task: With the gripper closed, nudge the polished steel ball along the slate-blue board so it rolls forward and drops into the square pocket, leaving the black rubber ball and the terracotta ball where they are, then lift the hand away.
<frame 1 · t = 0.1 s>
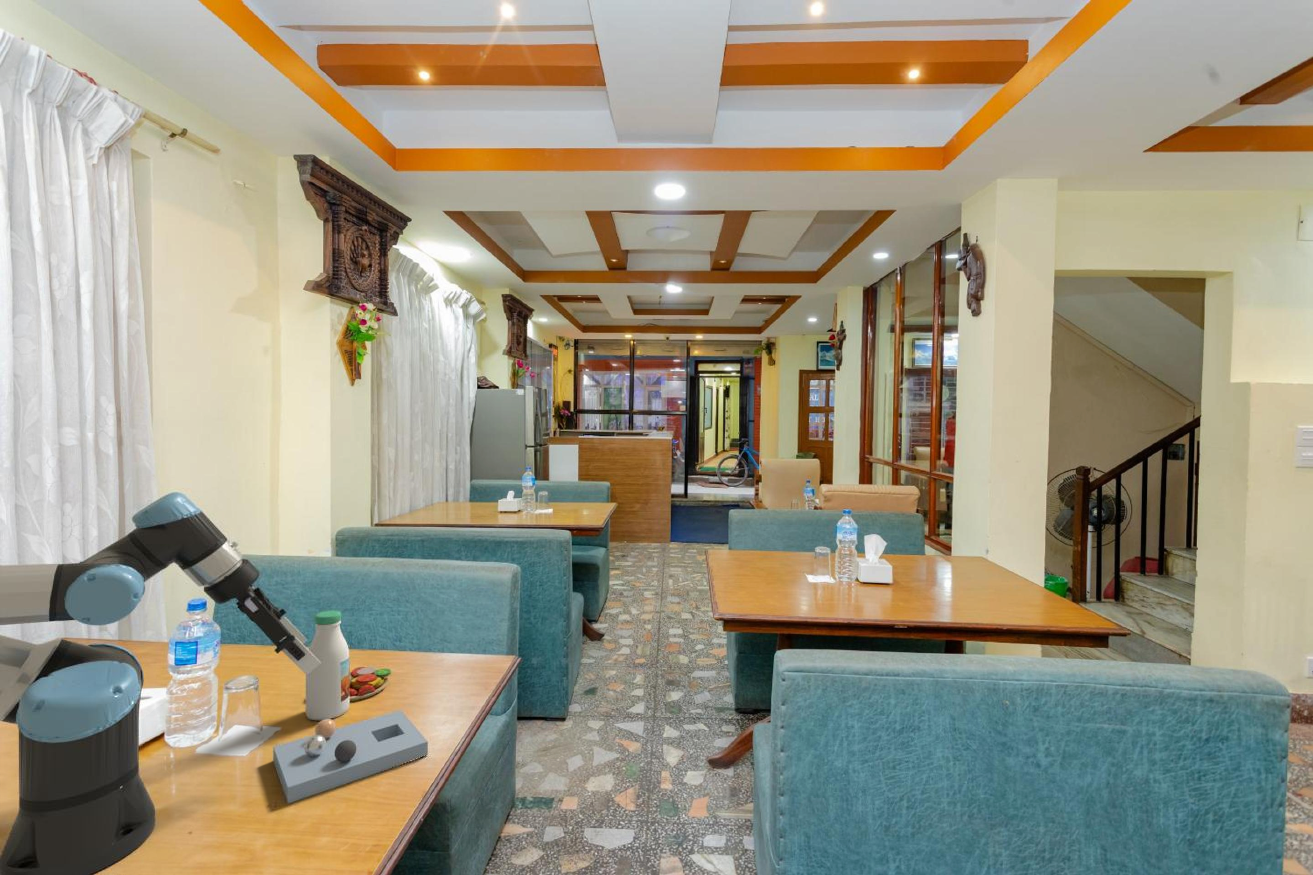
hand: (306, 656, 109), 15 cm above the table, tool tilted 35°, fingers open, 13 cm apart
board: (351, 758, 103), on the table
terracotta ball: (325, 728, 104), point 4 cm above the table, touching board
steel ball: (315, 745, 99), point 4 cm above the table, touching board
black ball: (345, 750, 97), point 4 cm above the table, touching board
toy food set: (355, 691, 130), on the table
milk bottle: (327, 713, 119), on the table
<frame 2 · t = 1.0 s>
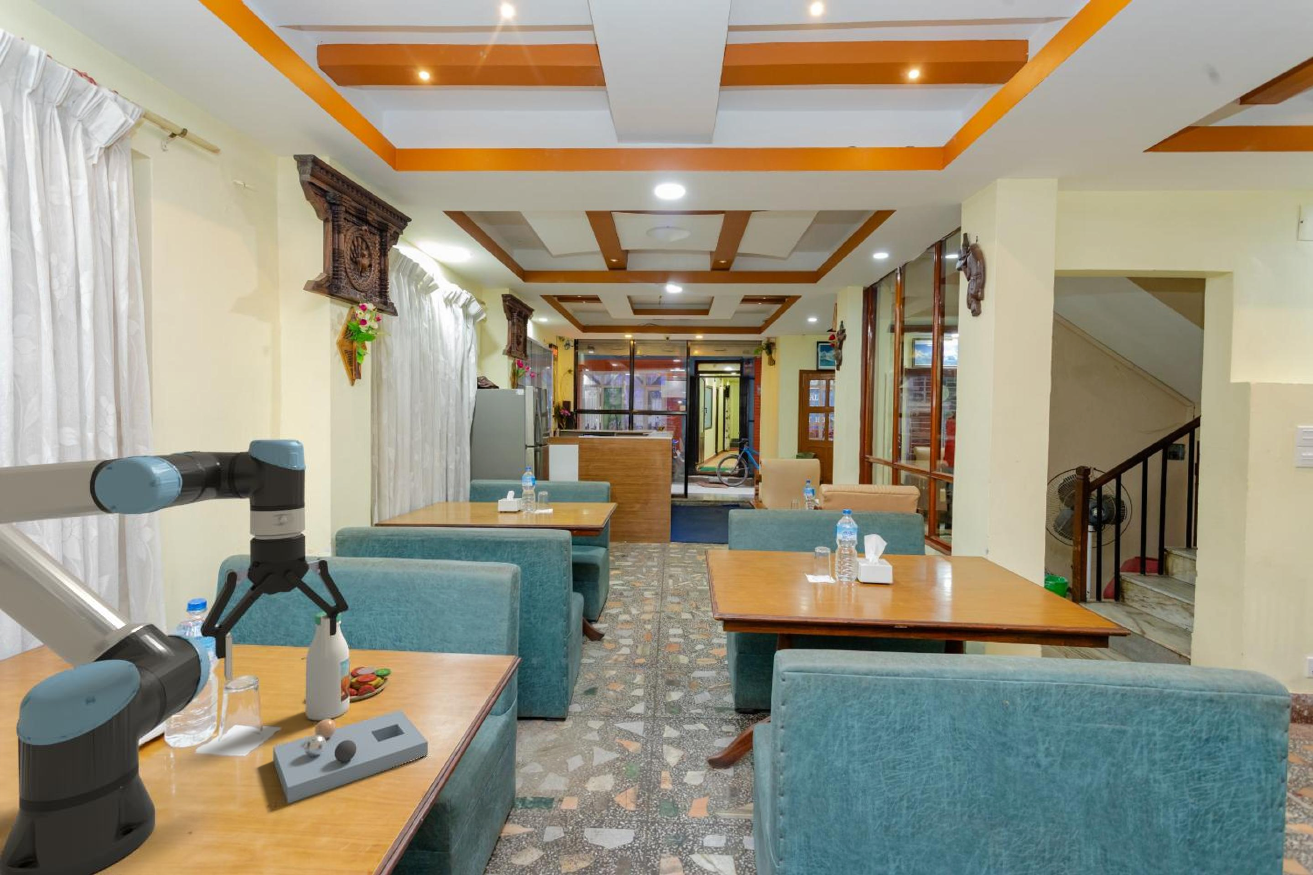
hand: (279, 665, 96), 19 cm above the table, tool pointing down, fingers open, 13 cm apart
nothing on the table moved.
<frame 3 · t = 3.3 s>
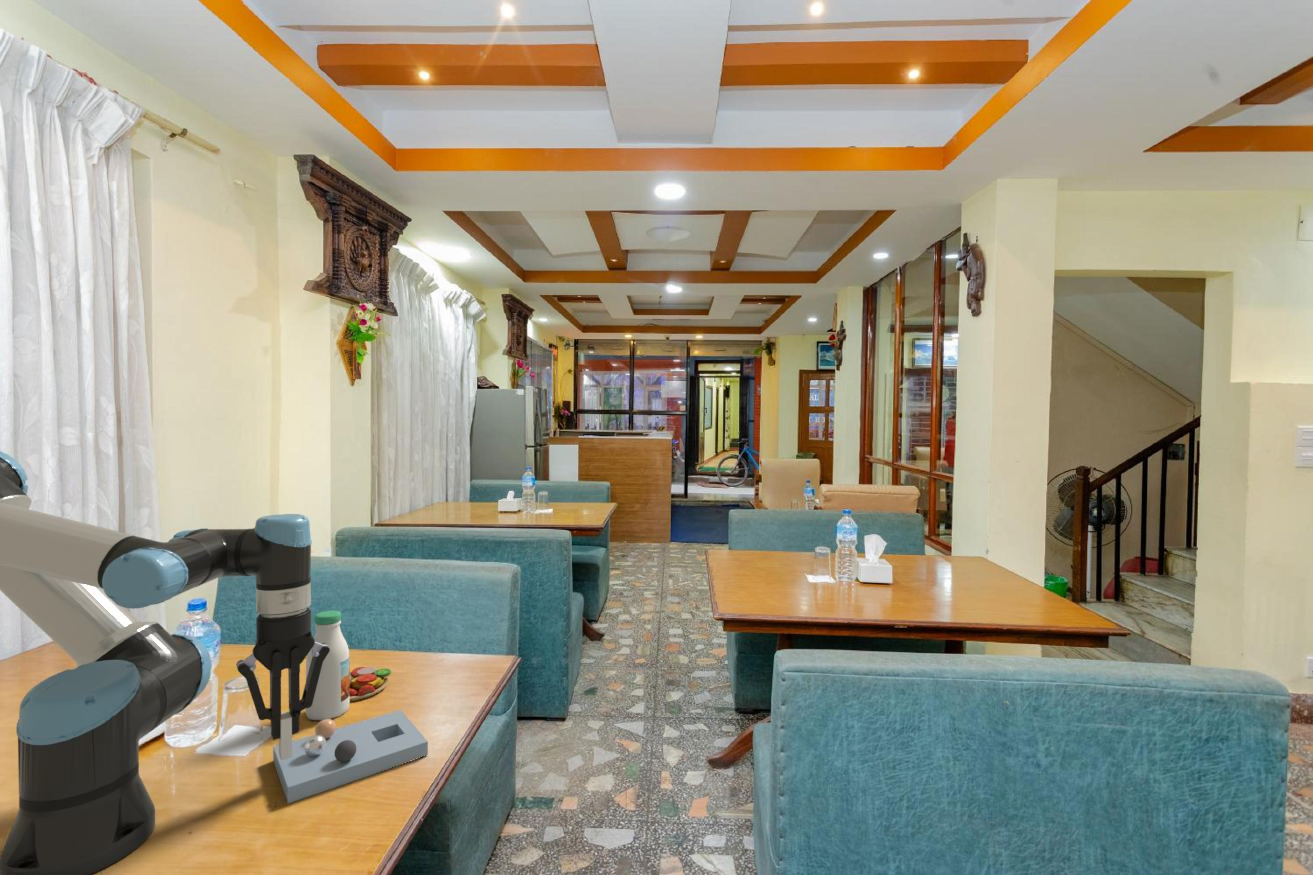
hand: (285, 755, 96), 4 cm above the table, tool pointing down, fingers closed
nothing on the table moved.
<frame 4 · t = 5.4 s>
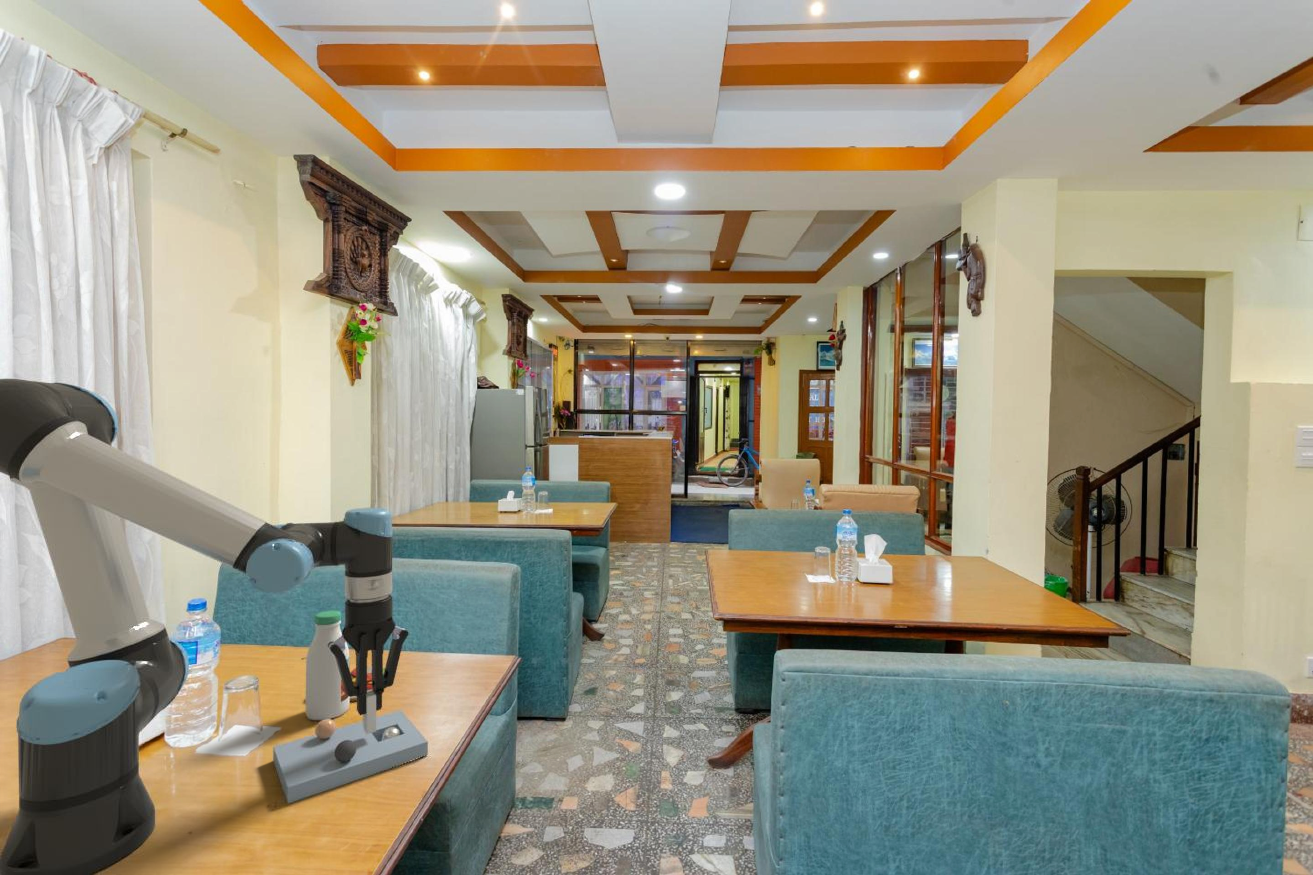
hand: (369, 729, 104), 4 cm above the table, tool pointing down, fingers closed
steel ball: (391, 737, 107), point 2 cm above the table, tilted 107°
everything else where it was.
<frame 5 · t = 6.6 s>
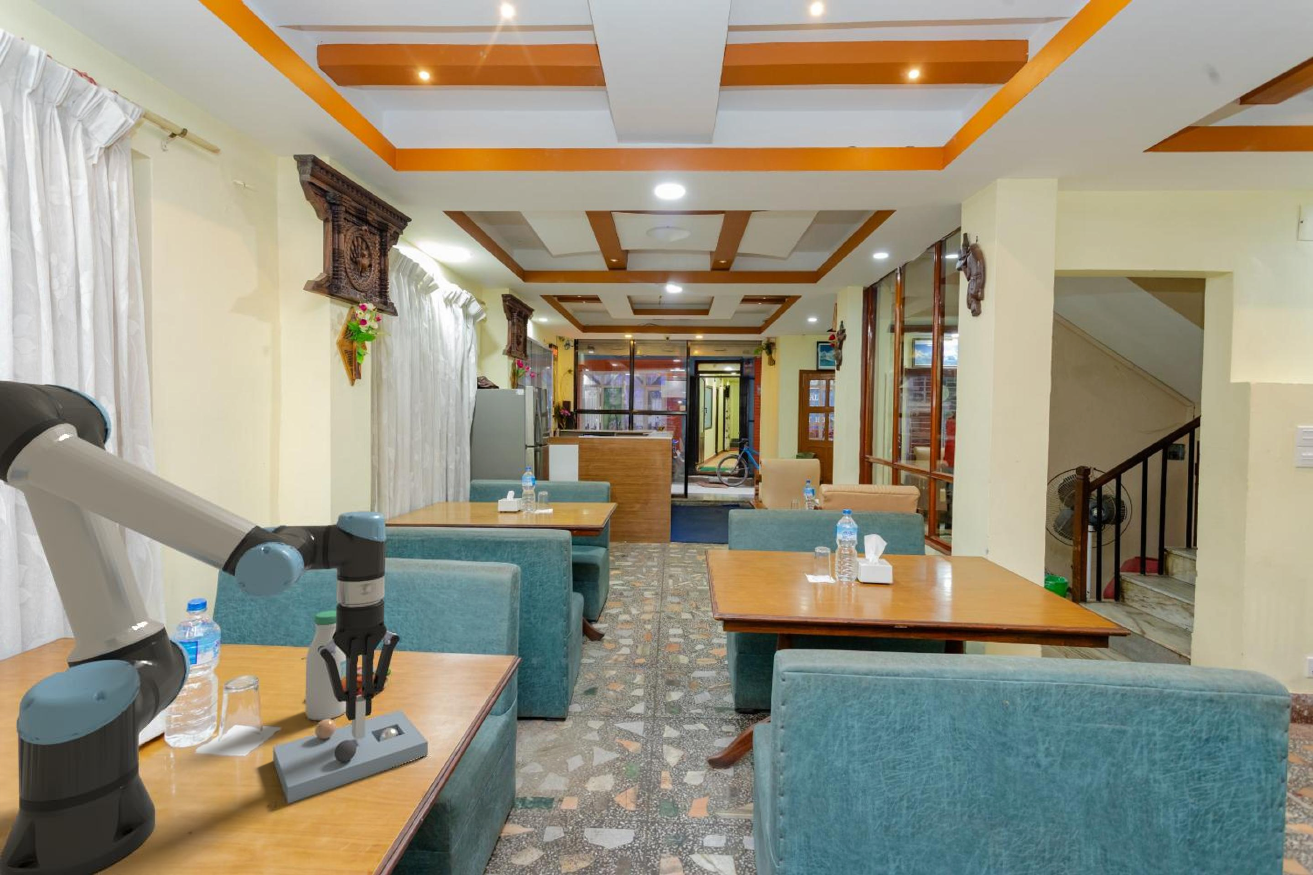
hand: (358, 735, 103), 4 cm above the table, tool pointing down, fingers closed
steel ball: (389, 737, 106), point 2 cm above the table, tilted 96°
everything else where it was.
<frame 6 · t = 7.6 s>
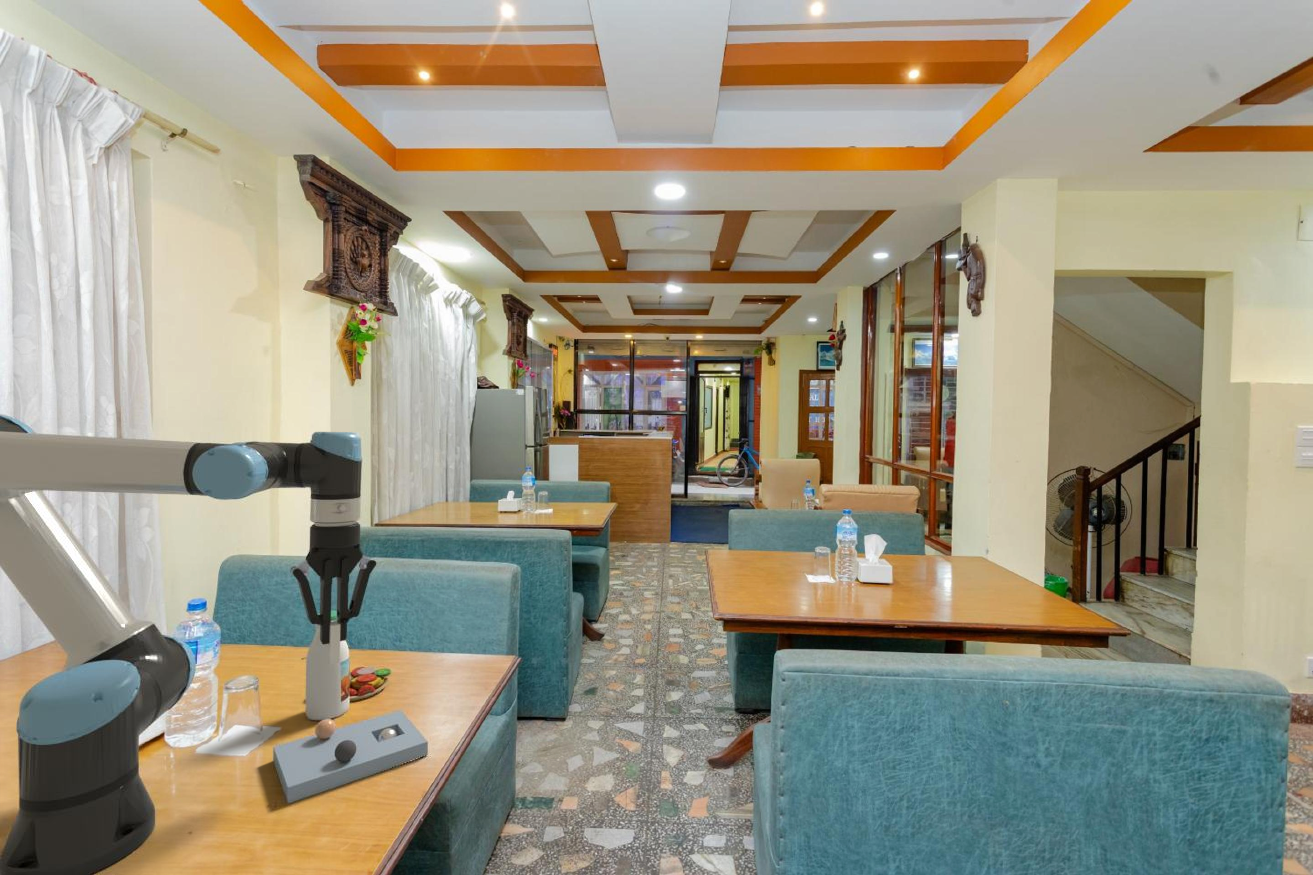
hand: (332, 660, 101), 18 cm above the table, tool pointing down, fingers closed
steel ball: (387, 738, 106), point 2 cm above the table, tilted 86°
everything else where it was.
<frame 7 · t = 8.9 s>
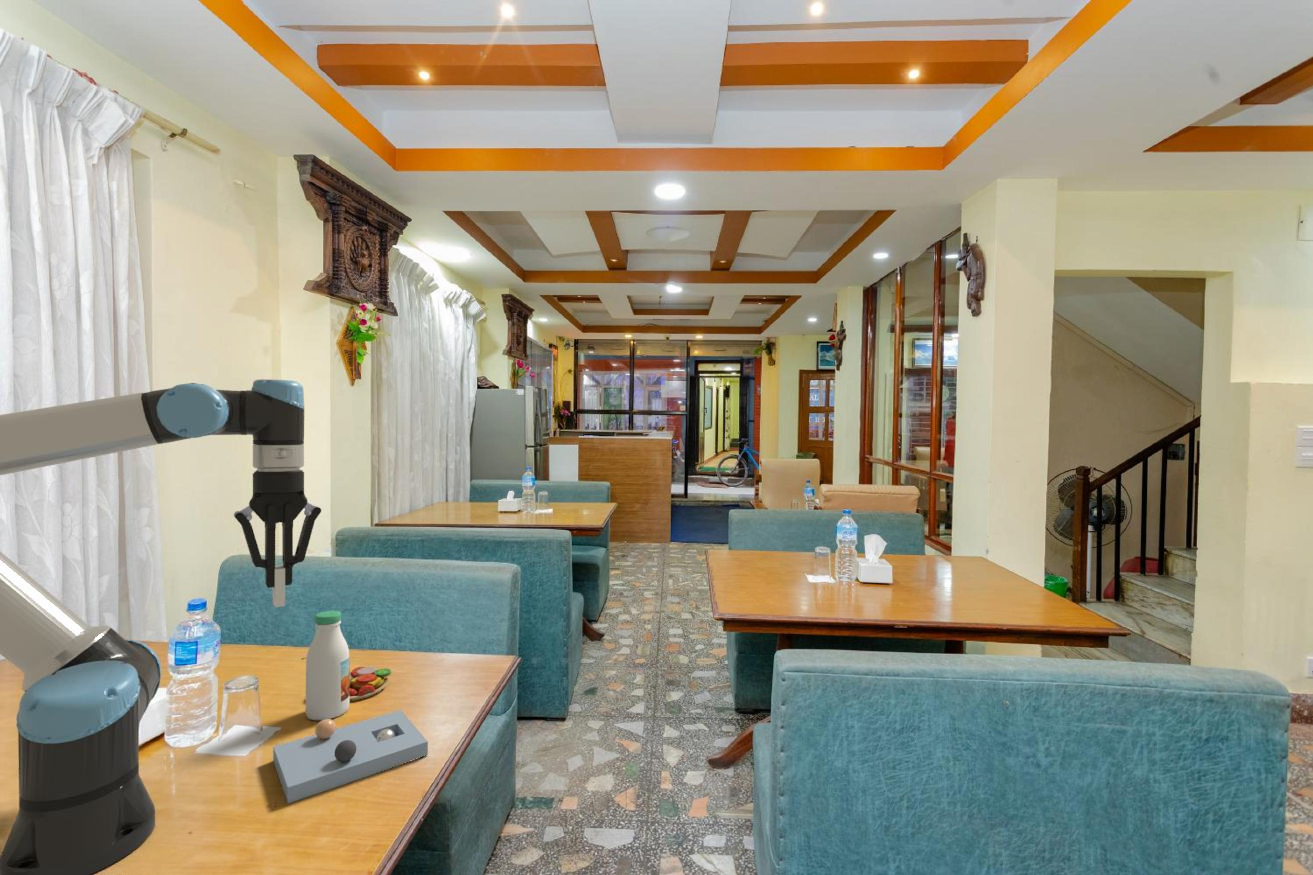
hand: (278, 604, 103), 26 cm above the table, tool pointing down, fingers closed
steel ball: (385, 738, 106), point 2 cm above the table, tilted 74°
everything else where it was.
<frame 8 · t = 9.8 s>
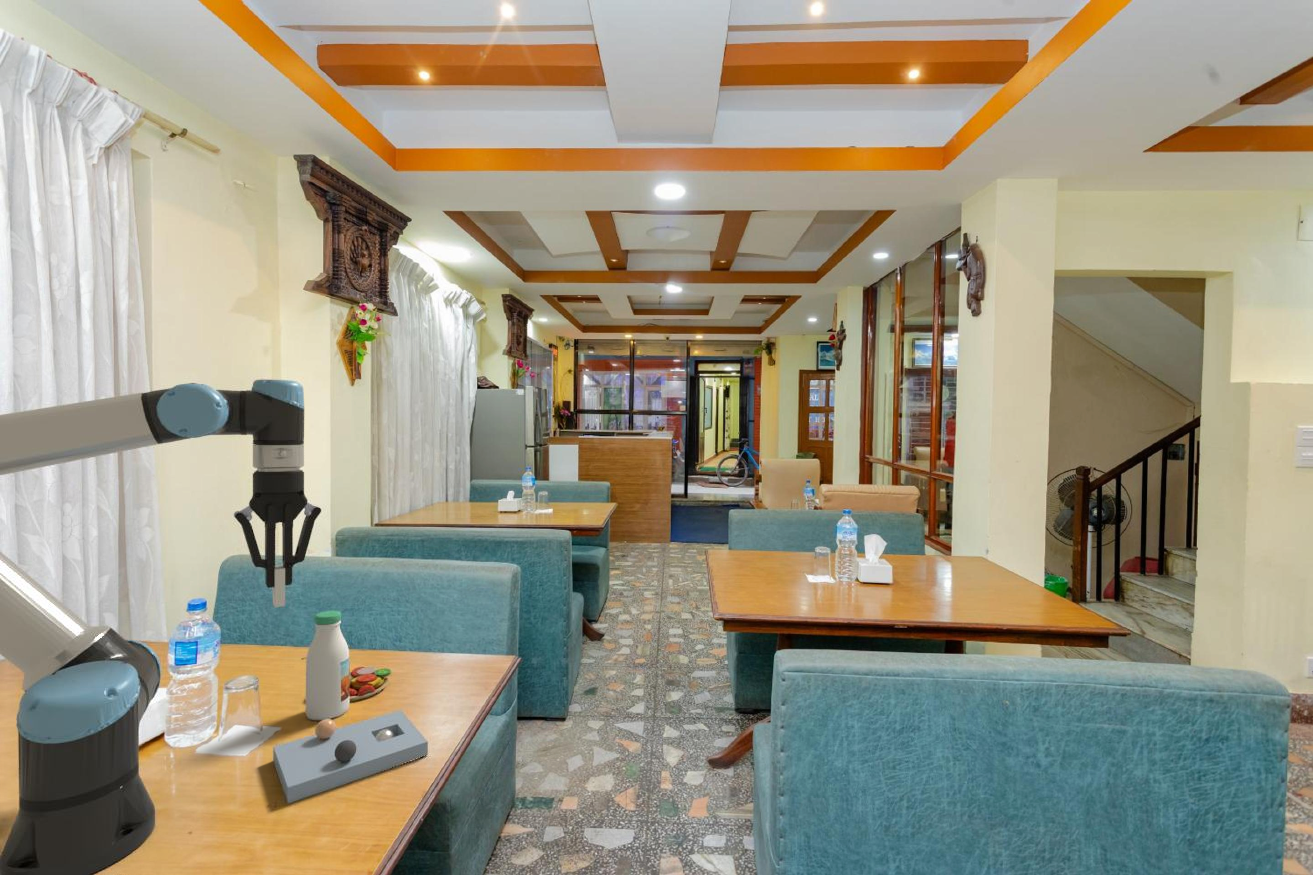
hand: (278, 604, 103), 26 cm above the table, tool pointing down, fingers closed
steel ball: (384, 739, 106), point 2 cm above the table, tilted 65°
everything else where it was.
at the end: steel ball 0.6 cm from the target spot in the board, point 1.6 cm above the board's base; black ball moved 0.0 cm from its start; terracotta ball moved 0.0 cm from its start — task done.
